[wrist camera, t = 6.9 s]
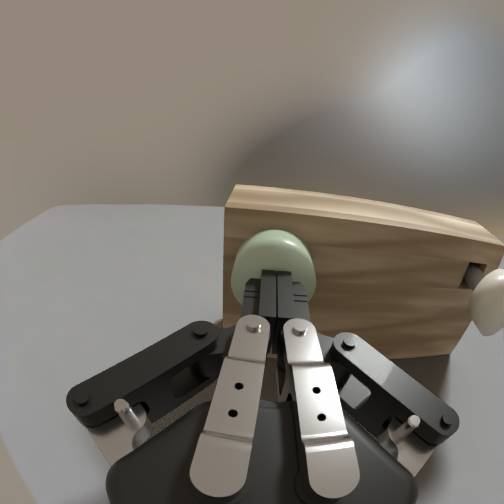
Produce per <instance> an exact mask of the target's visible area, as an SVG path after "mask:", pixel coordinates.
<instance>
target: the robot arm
mask: <svg viewBox="0 0 504 504" xmlns="http://www.w3.org/2000/svg"><path fill="white" fill-rule="evenodd" d="M306 296H307V295H306V289H305V287H304V286H303V285H302V283H301V282H292V274H291V272H289V271H277V272H276V270H266V269H262V272H261V279H257V278H250V279H249V280H248V281H247V282H246V284H245V290H244V297H243V303H242V310H241V316H240V319H239V320H238V322H237V323H236V324H235V325H233V326H231V327H228V328H223V329H217V327H216V326H215V325H214V324H212V323H210V322H207V321H195V322H192V323H190V324H189V325H187V326H185V327H183V328H182V329H180V330H178V331H176V332H175V333H173V334H171V335H169V336H167V337H166V338H164V339H162V340H160V341H158V342H157V343H155V344H153V345H151V346H149V347H148V348H146V349H144V350H142V351H140V352H138V353H137V354H135V355H133V356H131V357H129V358H127V359H126V360H124V361H122V362H120V363H118V364H116V365H114V366H112V367H111V368H109V369H107V370H105V371H103V372H101V373H99V374H97V375H95V376H93V377H91V378H90V379H88V380H86V381H84V382H82V383H80V384H78V385H76V386H74V387H73V388H72V389H71V390H70V391H69V392H68V394H67V398H66V403H67V406H68V408H69V410H70V411H71V412H72V413H73V414H74V416H75V417H76V418H77V420H78V421H79V423H80V424H81V425H82V426H83V427H84V428H85V429H86V430H87V431H88V432H89V433H90V435H91V436H92V438H93V440H94V441H95V443H96V444H97V446H98V448H99V449H100V451H101V452H102V454H103V455H104V457H105V458H106V460H107V461H108V462H109V464H110V465H111V468H110V469H109V471H108V474H107V477H106V491H107V495H108V498H109V501H110V504H415V503H416V500H417V495H418V486H417V482H416V480H415V476H416V474H417V473H418V472H419V470H420V469H421V468H422V467H423V465H424V464H425V462H426V461H427V460H428V458H429V457H430V455H431V454H432V453H433V451H434V450H435V448H436V447H437V446H439V445H440V444H441V443H443V442H444V441H445V440H446V439H448V438H449V437H450V436H451V435H453V434H454V433H455V432H456V431H457V429H458V427H459V417H458V415H457V413H456V412H455V410H453V409H452V408H451V407H450V406H448V405H447V404H446V403H444V402H443V401H442V400H441V399H439V398H438V397H437V396H435V395H434V394H433V393H431V392H430V391H429V390H428V389H426V388H425V387H424V386H422V385H421V384H420V383H418V382H417V381H416V380H415V379H413V378H412V377H411V376H409V375H408V374H407V373H405V372H404V371H403V370H402V369H400V368H399V367H398V366H396V365H395V364H394V363H392V362H391V361H390V360H389V359H387V358H386V357H385V356H383V355H382V354H381V353H380V352H378V351H377V350H376V349H374V348H373V347H372V346H370V345H369V344H368V343H367V342H365V341H364V340H363V339H361V338H360V337H359V336H357V335H355V334H353V333H349V332H343V333H339V334H337V335H336V336H335V338H332V337H328V336H325V335H322V334H320V333H318V332H317V331H316V329H315V327H314V325H313V324H312V323H311V322H310V315H309V308H308V302H307V297H306ZM271 345H272V352H271V354H277V361H276V365H275V373H276V385H277V398H278V403H274V402H270V401H266V400H263V399H260V394H261V387H262V381H263V374H264V368H265V363H266V359H267V354H270V351H271ZM351 374H353V375H354V376H355V377H356V378H358V379H359V380H360V381H361V382H362V383H364V384H365V385H366V386H367V387H368V388H369V389H368V388H367V387H365V386H364V385H363V384H362V383H361V382H359V381H358V380H357V379H356V378H355V377H354V376H352V375H351ZM218 377H219V378H218ZM217 378H218V382H217V385H216V388H215V392H214V395H213V399H212V401H209V402H205V403H203V404H200V405H198V406H196V407H195V408H193V409H192V410H190V411H189V412H187V413H186V414H185V415H183V416H182V417H181V418H179V419H178V420H177V421H175V422H174V423H172V424H171V425H170V426H168V427H167V428H165V429H164V430H163V431H161V432H160V433H158V434H157V435H155V436H154V437H152V438H151V439H150V440H148V441H147V442H145V443H144V441H146V440H147V439H148V438H149V437H150V436H151V434H152V430H153V427H152V423H153V422H155V421H156V420H158V419H160V418H161V417H163V416H164V415H166V414H167V413H169V412H170V411H172V410H173V409H175V408H176V407H178V406H180V405H181V404H182V403H184V402H185V401H187V400H188V399H190V398H191V397H193V396H194V395H196V394H197V393H199V392H200V391H201V390H203V389H204V388H206V387H207V386H208V385H210V384H211V383H213V382H214V381H215V380H216V379H217ZM341 407H342V408H343V409H344V410H345V411H347V412H348V413H349V414H350V415H351V416H352V417H353V418H354V419H355V420H357V421H358V422H359V423H360V424H361V425H362V426H363V427H365V428H366V429H367V430H368V431H369V432H370V433H371V434H373V435H374V436H375V437H376V438H377V441H376V440H375V439H373V438H372V437H371V436H370V435H369V434H368V433H367V432H366V431H365V430H364V429H363V428H362V427H361V426H360V425H359V424H358V423H357V422H356V421H354V420H353V419H352V418H351V417H350V416H349V415H348V414H346V413H345V412H343V411H342V408H341ZM143 443H144V444H143Z"/></svg>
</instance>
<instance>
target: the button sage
mask: <svg viewBox="0 0 504 504" xmlns="http://www.w3.org/2000/svg"><path fill="white" fill-rule="evenodd" d="M262 269H266V270H276V272H277V271H289V272H291V274H292V282H301V283H302V285H303V286H304V287H305V289H306V295H307V296H306V297H307V302H309V300H310V299H311V298H312V296H313V294H314V291H315V288H316V275H315V271H314V266H313V262H312V258H311V254H310V251H309V249H308V247H307V246H306V244H305V243H304V242H303V241H302V240H301V239H300V238H299V237H297V236H296V235H294V234H292V233H289V232H287V231H283V230H273V229H272V230H265V231H261V232H258V233H256V234H253V235H252V236H250V237H249V238H247V239H246V240H245V241H244V242H243V243H242V245H241V246H240V248H239V250H238V252H237V255H236V259H235V263H234V267H233V271H232V275H231V288H232V291H233V294H234V296H235V298H236V299H237V301H238V302H239V303H240V304H241V305H242V303H243V297H244V290H245V284H246V282H247V281H248V280H249V279H250V278H257V279H261V272H262Z"/></svg>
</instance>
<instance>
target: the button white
mask: <svg viewBox="0 0 504 504" xmlns="http://www.w3.org/2000/svg"><path fill="white" fill-rule="evenodd" d="M463 280H464V281H465V282H466V283H467V285H468V286H469V287H470V288H471V289H472V291H473V293H472V295H471V297H470V299H469V303H468V308H467V311H468V315H469V316H470V318H471V319H472V321H473V322H474V324H475V325H476V327H477V328H478V330H479V331H480V333H481V334H482V335H483V336H490V335H493V334H495V333H497V332H498V331H499V330H501V329H502V328H503V327H504V270H503V269H496V270H494V271H492V272H490V273H489V274H488V275H486V276H485V275H484V273H483V272H482V271H481V270H480V269H479V268H478V267H477V266H476V265H475V264H474V263H473V262H469V265H468V267H467V270H466V272H465V274H464V276H463Z"/></svg>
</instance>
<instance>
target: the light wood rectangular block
mask: <svg viewBox="0 0 504 504" xmlns="http://www.w3.org/2000/svg"><path fill="white" fill-rule="evenodd" d="M272 229H273V230H283V231H287V232H289V233H292V234H294V235H296V236H297V237H299V238H300V239H301V240H302V241H303V242H304V243H305V244H306V246H307V247H308V249H309V251H310V254H311V258H312V262H313V266H314V271H315V275H316V288H315V291H314V294H313V296H312V298H311V299H310V300H309V302H308V308H309V315H310V322H311V323H312V324H313V325H314V327H315V329H316V331H317V332H318V333H320V334H322V335H325V336H328V337H332V338H335V336H336V335H337V334H339V333H343V332H349V333H353V334H355V335H357V336H359V337H360V338H361V339H363V340H364V341H365V342H367V343H368V344H369V345H370V346H372V347H373V348H374V349H376V350H377V351H378V352H380V353H381V354H382V355H383V356H385V357H386V358H387V359H403V358H416V357H427V356H437V355H445V354H451V352H452V351H453V349H454V348H455V346H456V345H457V343H458V342H459V340H460V339H461V337H462V335H463V334H464V332H465V331H466V329H467V327H468V326H469V324H470V322H471V321H472V319H471V318H470V316H469V315H468V311H467V308H468V303H469V299H470V297H471V295H472V293H473V291H472V289H471V288H470V287H469V286H468V285H467V283H466V282H465V281H464V280H463V276H464V274H465V272H466V270H467V267H468V265H469V262H473V263H474V264H475V265H476V266H477V267H478V268H479V269H480V270H481V271H482V272H483V273H484V275H485V276H486V275H488V274H489V273H490V272H492V271H494V270H496V269H498V267H499V264H500V262H501V259H502V257H503V254H504V244H503V243H502V242H501V241H500V240H498V239H497V238H496V237H495V236H493V235H492V234H491V233H489V232H488V231H487V230H485V228H483V227H482V226H481V225H479V224H478V223H477V222H475V221H470V220H467V219H462V218H458V217H454V216H450V215H446V214H441V213H436V212H432V211H426V210H422V209H417V208H411V207H406V206H402V205H396V204H390V203H385V202H379V201H372V200H367V199H359V198H354V197H347V196H340V195H333V194H325V193H317V192H309V191H300V190H291V189H282V188H272V187H261V186H248V185H236V186H235V188H234V190H233V192H232V193H231V195H230V197H229V199H228V201H227V203H226V205H225V213H224V254H223V328H228V327H231V326H233V325H235V324H236V323H237V322H238V320H239V319H240V316H241V310H242V305H241V304H240V303H239V302H238V301H237V299H236V298H235V296H234V294H233V291H232V288H231V275H232V271H233V267H234V263H235V259H236V255H237V252H238V250H239V248H240V246H241V245H242V243H243V242H244V241H245V240H246V239H247V238H249V237H250V236H252V235H253V234H256V233H258V232H261V231H265V230H272ZM271 352H272V345H271V351H270V354H267V358H277V354H271Z"/></svg>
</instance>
